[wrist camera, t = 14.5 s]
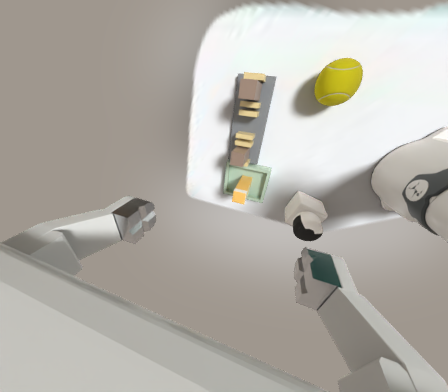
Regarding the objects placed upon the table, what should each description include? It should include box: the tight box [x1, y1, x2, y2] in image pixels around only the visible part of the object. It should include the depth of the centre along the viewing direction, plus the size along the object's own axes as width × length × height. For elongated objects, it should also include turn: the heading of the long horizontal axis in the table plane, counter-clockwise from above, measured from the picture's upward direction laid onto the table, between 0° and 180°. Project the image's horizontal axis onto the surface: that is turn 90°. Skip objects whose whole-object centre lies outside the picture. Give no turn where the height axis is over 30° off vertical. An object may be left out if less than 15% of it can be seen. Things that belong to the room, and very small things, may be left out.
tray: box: [223, 159, 272, 203], centre depth 46 cm, size 12×10×3 cm
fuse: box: [232, 175, 253, 204], centre depth 42 cm, size 3×3×10 cm
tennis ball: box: [314, 58, 363, 106], centre depth 29 cm, size 7×7×7 cm
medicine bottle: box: [285, 191, 328, 241], centre depth 41 cm, size 7×7×12 cm
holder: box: [228, 72, 276, 167], centre depth 36 cm, size 19×8×9 cm, turn 175°
